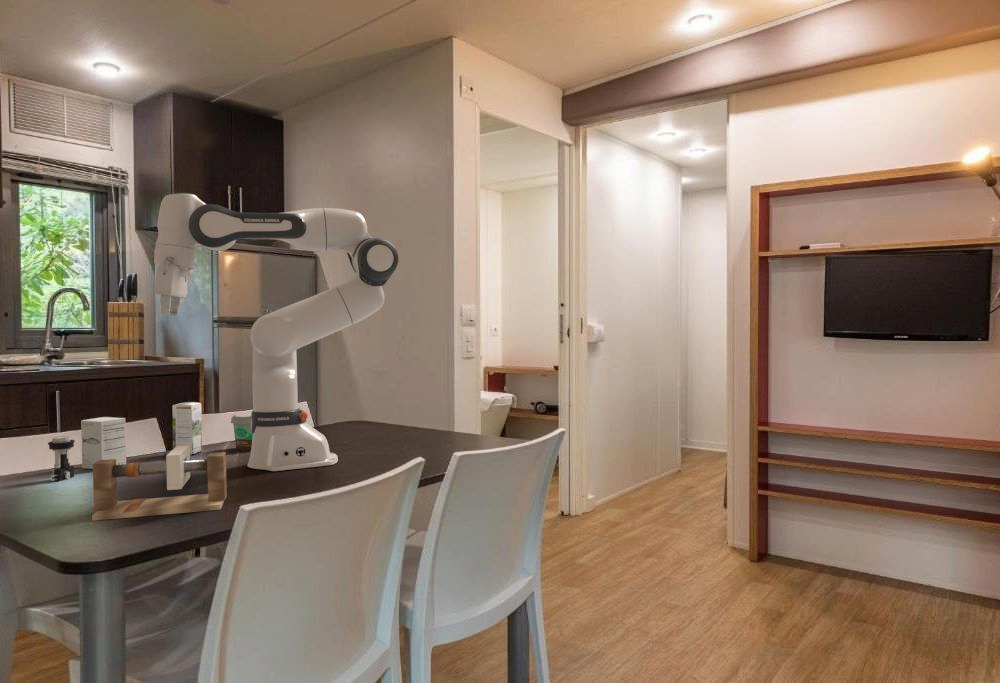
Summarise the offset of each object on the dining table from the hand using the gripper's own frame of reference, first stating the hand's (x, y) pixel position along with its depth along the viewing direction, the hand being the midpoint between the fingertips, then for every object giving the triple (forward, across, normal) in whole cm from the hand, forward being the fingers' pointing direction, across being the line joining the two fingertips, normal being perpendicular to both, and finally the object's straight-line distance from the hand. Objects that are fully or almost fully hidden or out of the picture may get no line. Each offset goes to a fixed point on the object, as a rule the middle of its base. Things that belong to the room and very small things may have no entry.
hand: (169, 315), depth 162 cm
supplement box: (+41, +15, +15) cm, 46 cm away
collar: (+33, -35, -11) cm, 49 cm away
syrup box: (+39, +27, -3) cm, 48 cm away
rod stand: (+38, -35, -9) cm, 52 cm away
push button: (+42, +2, +20) cm, 46 cm away
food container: (+38, +28, -19) cm, 51 cm away
